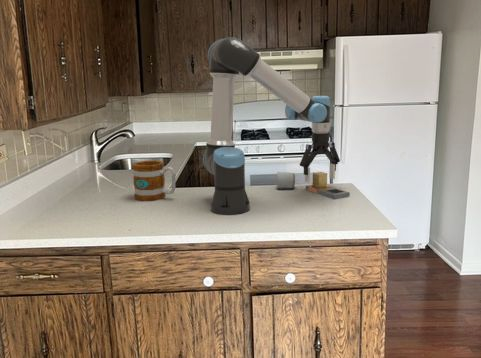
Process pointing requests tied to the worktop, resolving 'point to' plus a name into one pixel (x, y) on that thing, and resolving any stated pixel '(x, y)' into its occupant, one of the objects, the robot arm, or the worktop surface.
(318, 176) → the block
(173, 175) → the mug
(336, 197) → the grey slotted board
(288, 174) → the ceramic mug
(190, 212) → the worktop surface
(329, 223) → the worktop surface
